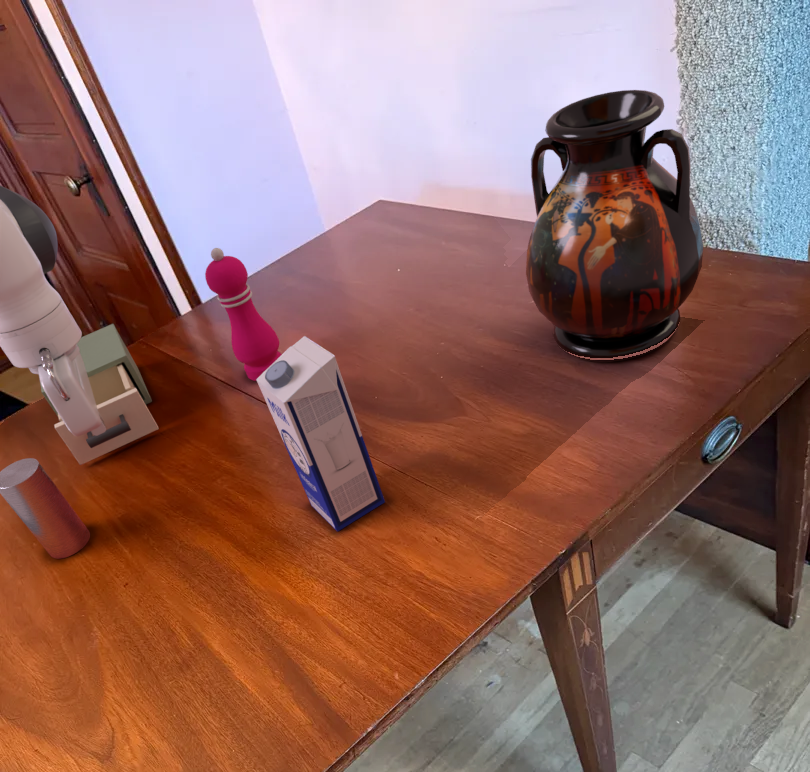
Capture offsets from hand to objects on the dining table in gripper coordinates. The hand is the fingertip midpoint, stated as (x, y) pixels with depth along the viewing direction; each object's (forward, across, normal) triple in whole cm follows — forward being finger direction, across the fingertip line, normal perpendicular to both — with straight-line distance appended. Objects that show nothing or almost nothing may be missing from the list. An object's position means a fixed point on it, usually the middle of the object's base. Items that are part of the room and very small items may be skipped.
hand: (99, 429), depth 98 cm
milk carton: (+10, -26, -23) cm, 36 cm away
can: (+9, -7, +10) cm, 15 cm away
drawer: (+8, +14, 0) cm, 16 cm away
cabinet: (+9, +28, 0) cm, 29 cm away
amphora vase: (+10, -19, -67) cm, 70 cm away
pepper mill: (+9, +14, -25) cm, 30 cm away
